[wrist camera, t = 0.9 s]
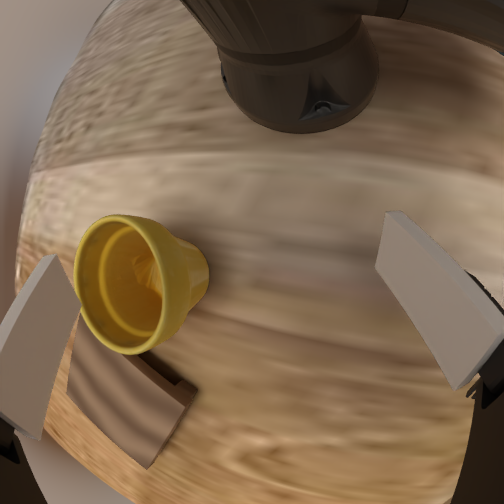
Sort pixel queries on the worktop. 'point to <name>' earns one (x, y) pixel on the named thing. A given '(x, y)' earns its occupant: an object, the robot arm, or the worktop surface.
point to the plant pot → (136, 282)
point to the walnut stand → (125, 396)
